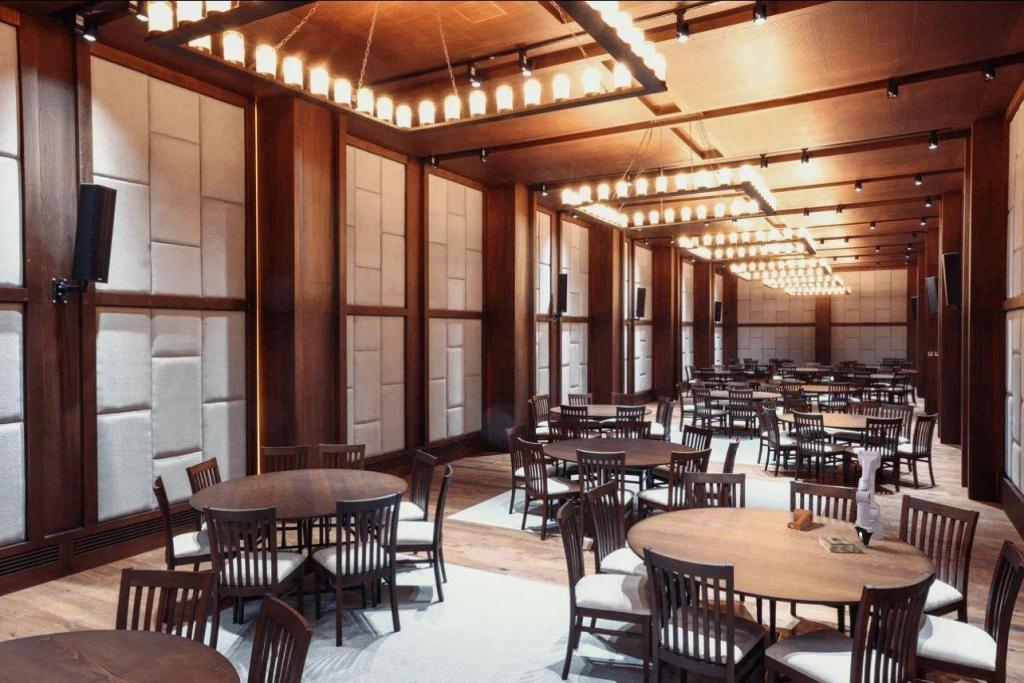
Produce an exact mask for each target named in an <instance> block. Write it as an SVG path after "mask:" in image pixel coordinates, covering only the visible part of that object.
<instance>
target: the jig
mask: <svg viewBox="0 0 1024 683" xmlns="http://www.w3.org/2000/svg"><path fill="white" fill-rule="evenodd" d="M818 541H819V542H818V544H819V543H820V544H819V545H821V546H822V547H823V546H824V547H825V548H826V551H828V552H829V553H842V552H854V553H853V554H859V546H858V544H856V543H854V542H853V541H852V540H850V539H849V538H848V537H829V536H828V537H823V536H822V537H820V536H819V537H818ZM824 547H823V548H824ZM825 548H824V549H825Z"/></svg>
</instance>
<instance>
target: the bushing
mask: <svg viewBox="0 0 1024 683" xmlns="http://www.w3.org/2000/svg"><path fill="white" fill-rule="evenodd" d="M858 541H859V542H858V545H859V546H858V547H860V546H861V547H860V548H862V547H866V548H865V549H868V548H870V547H869V545H870V544H869V545H863V540H862V535H861V532H859V538H858ZM867 547H868V548H867Z"/></svg>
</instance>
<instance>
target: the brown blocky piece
mask: <svg viewBox="0 0 1024 683" xmlns="http://www.w3.org/2000/svg"><path fill="white" fill-rule="evenodd" d="M792 519H793V521H790V522H788V523H787V524H786V527H787V529H788V528H791V529H790V530H793V529H796V530H795V531H798V530H801V529H802V530H804V529H806V528H808V527H809V526H811V525H813V522H814V512H813V511H812V510H810V509H803V508H794V510H793V516H792ZM810 524H811V525H810ZM808 525H809V526H808ZM805 527H806V528H805ZM803 528H804V529H803ZM802 530H801V531H802Z"/></svg>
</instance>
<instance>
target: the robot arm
mask: <svg viewBox="0 0 1024 683" xmlns="http://www.w3.org/2000/svg"><path fill="white" fill-rule="evenodd" d="M857 452H858V453H857V460H858V464H859V465H860V467H861V469H862V471H861V472H862V474H861V477H860V478H859V480H858V487H857V490H856V493H855V500H856V506H857V508H856V509H857V510H856V511H857V515H856V516H857V517H856V518H857V519H856V520H855V524H854V529H855V531H856V533H857V537H858V539H859V532H861V535H862V540H863V545H870V539H878V541H884V526H883V522H882V521H881V505H880V504H879V503H877V502H876V501H875V484H876V482H875V480H876V470H877V469H879V468H880V467H881V456H882V454H881V452H880V451H874V450H873V451H872V450H871V451H870V450H864V449H863V450H862V449H860V450H858V451H857ZM880 539H882V540H880Z"/></svg>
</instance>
